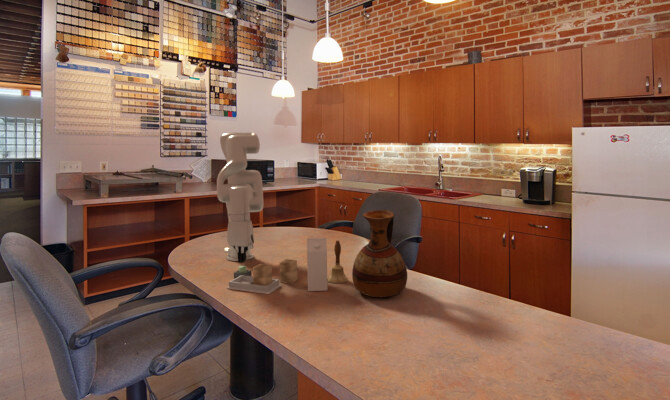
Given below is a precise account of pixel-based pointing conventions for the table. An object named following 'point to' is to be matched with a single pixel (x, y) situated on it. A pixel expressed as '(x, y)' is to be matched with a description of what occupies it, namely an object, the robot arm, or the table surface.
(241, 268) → the button
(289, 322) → the table surface
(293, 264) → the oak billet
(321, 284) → the milk carton
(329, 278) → the hand bell
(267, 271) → the block
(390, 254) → the ceramic pitcher
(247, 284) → the grey divided tray
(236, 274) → the console
